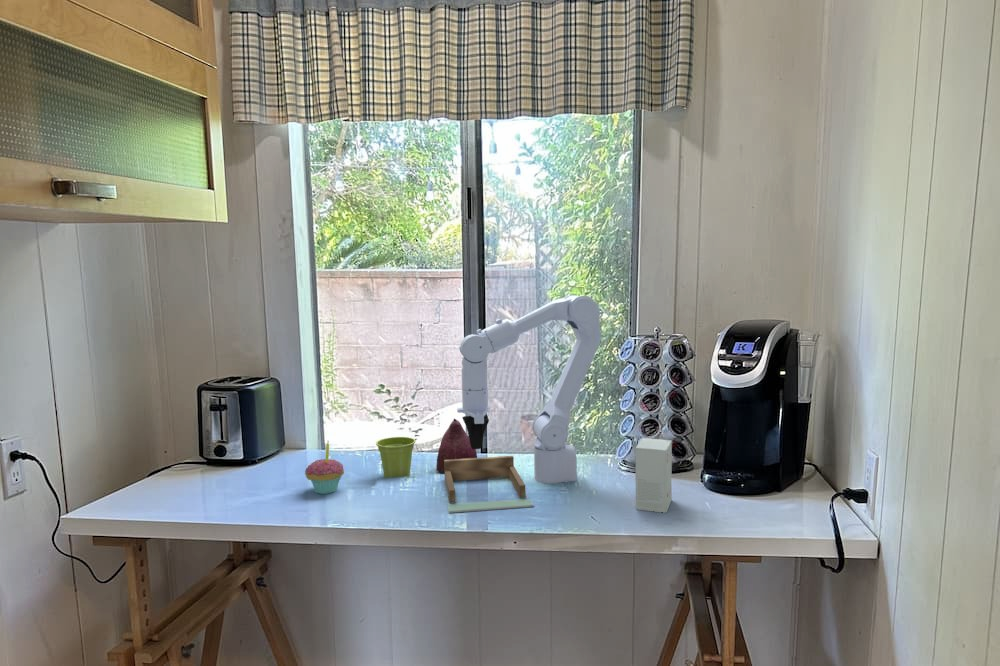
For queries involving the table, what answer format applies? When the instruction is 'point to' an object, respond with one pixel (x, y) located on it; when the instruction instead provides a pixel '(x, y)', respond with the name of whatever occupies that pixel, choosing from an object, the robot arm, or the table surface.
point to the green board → (489, 505)
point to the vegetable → (454, 445)
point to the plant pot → (396, 456)
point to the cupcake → (325, 474)
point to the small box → (653, 474)
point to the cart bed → (481, 472)
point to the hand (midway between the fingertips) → (476, 448)
